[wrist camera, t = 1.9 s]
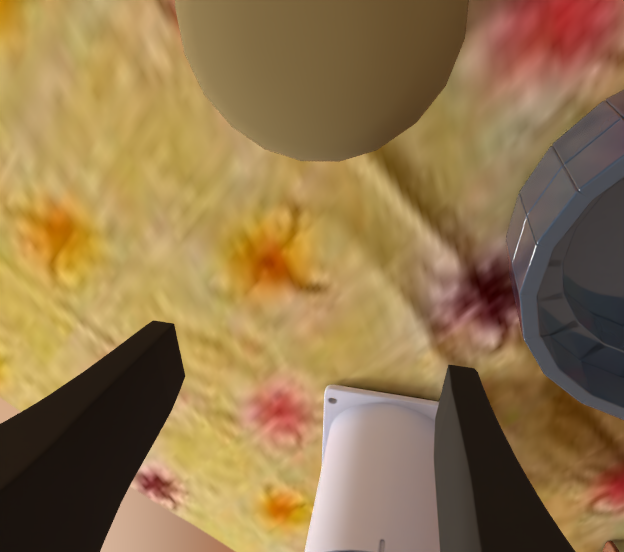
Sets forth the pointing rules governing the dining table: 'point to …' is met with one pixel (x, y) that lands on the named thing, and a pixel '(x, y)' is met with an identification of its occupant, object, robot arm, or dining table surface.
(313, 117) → the cork
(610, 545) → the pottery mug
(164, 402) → the robot arm
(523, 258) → the bowl
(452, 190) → the dining table surface
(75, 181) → the dining table surface
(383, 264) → the dining table surface
